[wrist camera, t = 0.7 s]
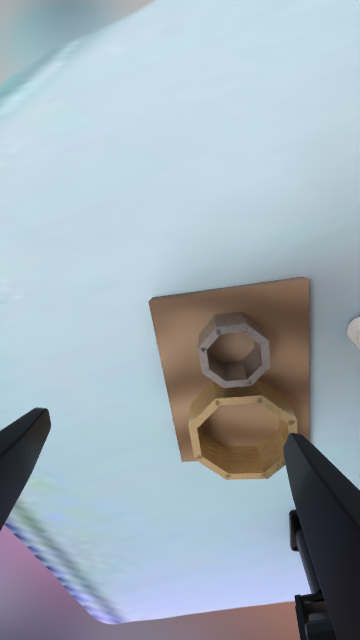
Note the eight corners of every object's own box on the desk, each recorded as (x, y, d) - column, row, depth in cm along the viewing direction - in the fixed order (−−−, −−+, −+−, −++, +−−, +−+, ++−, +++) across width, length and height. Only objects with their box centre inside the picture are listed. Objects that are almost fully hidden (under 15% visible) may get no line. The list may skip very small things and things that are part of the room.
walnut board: (303, 445, 26) (309, 457, 24) (183, 450, 28) (181, 461, 26) (302, 276, 20) (309, 279, 19) (152, 297, 22) (148, 301, 21)
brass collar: (287, 449, 24) (298, 477, 21) (199, 453, 26) (198, 480, 23) (284, 372, 22) (296, 392, 19) (186, 380, 23) (183, 400, 20)
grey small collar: (262, 365, 22) (271, 384, 19) (204, 370, 22) (204, 389, 20) (259, 309, 20) (268, 321, 17) (196, 316, 21) (194, 329, 18)
